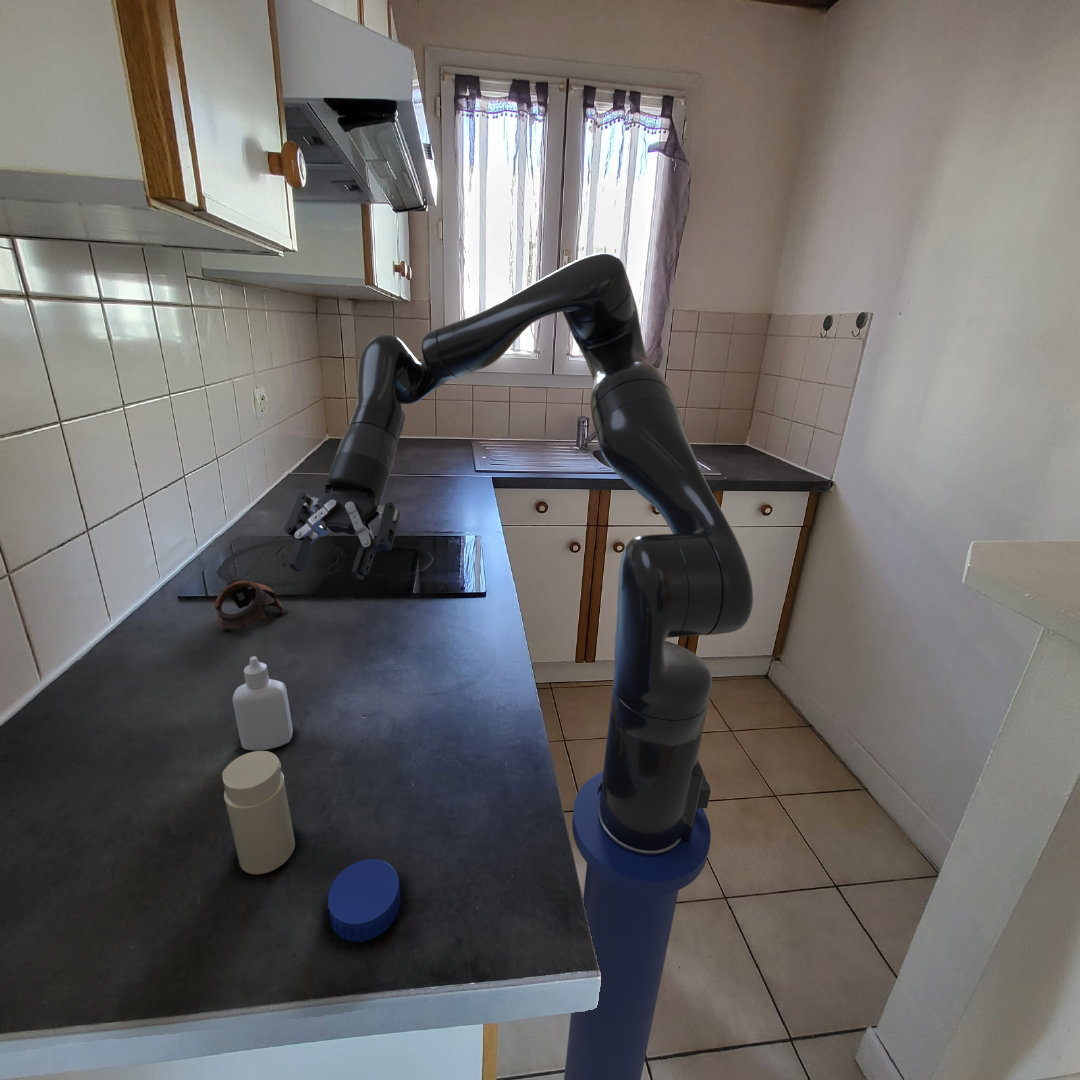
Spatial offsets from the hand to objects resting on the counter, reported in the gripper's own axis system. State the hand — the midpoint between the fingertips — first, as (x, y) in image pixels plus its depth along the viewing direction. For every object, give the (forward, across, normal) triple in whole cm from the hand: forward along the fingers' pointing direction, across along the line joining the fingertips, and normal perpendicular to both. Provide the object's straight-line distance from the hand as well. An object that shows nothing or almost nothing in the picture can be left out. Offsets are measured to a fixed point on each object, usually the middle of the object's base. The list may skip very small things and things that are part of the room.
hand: (325, 573), depth 71 cm
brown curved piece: (+3, +24, -22) cm, 33 cm away
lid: (+31, -18, +8) cm, 36 cm away
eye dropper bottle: (+21, +3, -5) cm, 22 cm away
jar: (+30, -6, +4) cm, 31 cm away
